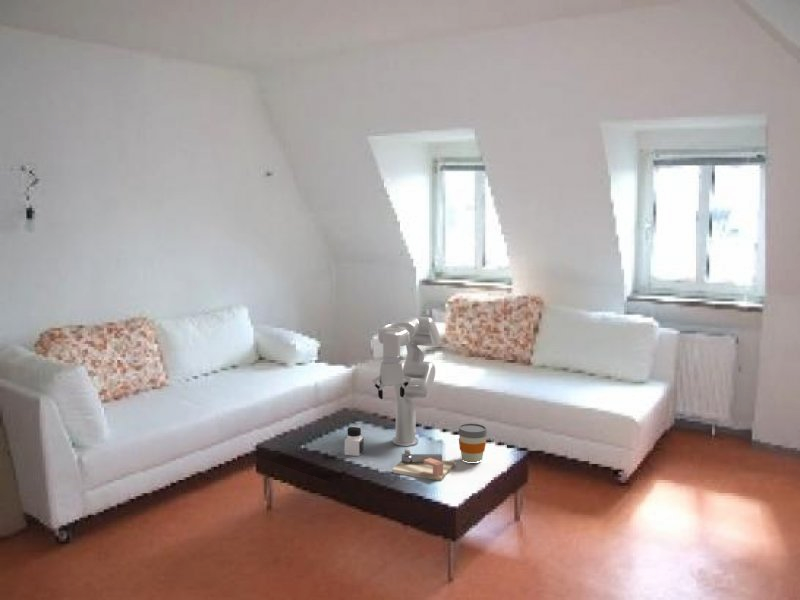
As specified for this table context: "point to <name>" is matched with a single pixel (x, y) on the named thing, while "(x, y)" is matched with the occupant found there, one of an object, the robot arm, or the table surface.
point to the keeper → (435, 466)
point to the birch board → (422, 469)
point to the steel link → (420, 457)
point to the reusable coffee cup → (472, 441)
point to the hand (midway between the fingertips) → (391, 397)
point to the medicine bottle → (354, 441)
